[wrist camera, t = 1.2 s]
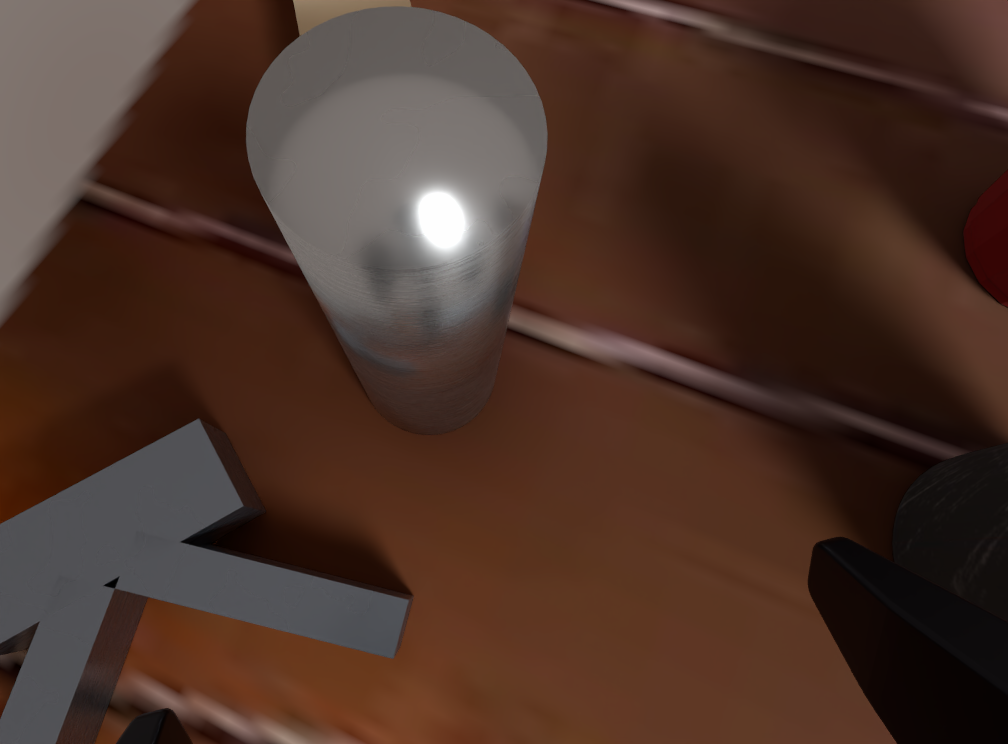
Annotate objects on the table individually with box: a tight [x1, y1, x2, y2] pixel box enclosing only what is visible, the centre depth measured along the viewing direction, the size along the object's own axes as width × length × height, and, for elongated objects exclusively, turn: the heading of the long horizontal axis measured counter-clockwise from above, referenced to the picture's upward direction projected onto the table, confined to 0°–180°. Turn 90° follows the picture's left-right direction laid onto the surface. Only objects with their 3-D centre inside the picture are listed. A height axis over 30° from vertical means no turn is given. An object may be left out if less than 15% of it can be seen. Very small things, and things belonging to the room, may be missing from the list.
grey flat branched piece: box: [0, 419, 414, 744], centre depth 20 cm, size 9×14×2 cm, turn 121°
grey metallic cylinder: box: [246, 6, 547, 435], centre depth 17 cm, size 5×5×14 cm
